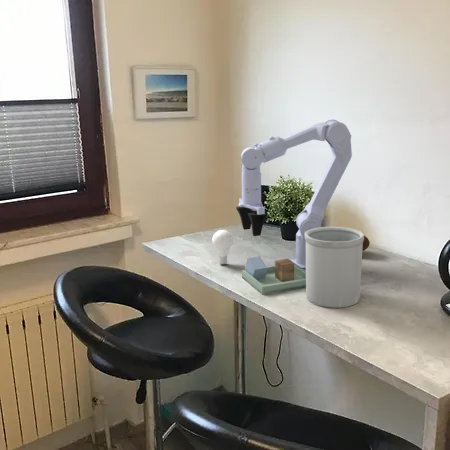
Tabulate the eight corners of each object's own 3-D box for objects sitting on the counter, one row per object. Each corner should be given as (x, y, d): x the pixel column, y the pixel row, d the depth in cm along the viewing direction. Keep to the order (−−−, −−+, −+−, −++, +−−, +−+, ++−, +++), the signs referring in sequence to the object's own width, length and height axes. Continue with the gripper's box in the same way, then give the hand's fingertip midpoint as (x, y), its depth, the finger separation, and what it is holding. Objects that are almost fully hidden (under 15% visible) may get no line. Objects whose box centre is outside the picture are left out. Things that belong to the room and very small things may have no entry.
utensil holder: (293, 292, 152) (294, 229, 147) (341, 283, 157) (343, 223, 152) (321, 313, 138) (323, 244, 134) (372, 303, 143) (376, 237, 139)
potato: (351, 248, 187) (352, 225, 185) (373, 256, 179) (374, 232, 177) (334, 252, 183) (335, 229, 181) (357, 260, 175) (358, 236, 173)
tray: (291, 269, 168) (291, 262, 168) (314, 285, 156) (315, 278, 155) (242, 277, 163) (242, 270, 162) (262, 294, 150) (262, 286, 150)
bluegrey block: (252, 280, 159) (245, 268, 162) (264, 278, 160) (257, 266, 164) (254, 269, 156) (247, 258, 160) (267, 267, 158) (259, 256, 162)
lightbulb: (231, 268, 171) (230, 233, 168) (210, 267, 172) (209, 232, 169) (235, 261, 177) (234, 227, 174) (215, 260, 178) (214, 227, 175)
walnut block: (275, 277, 161) (275, 260, 160) (287, 275, 162) (287, 258, 161) (281, 281, 157) (281, 264, 156) (294, 279, 159) (294, 262, 157)
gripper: (229, 185, 172) (230, 227, 176) (248, 194, 159) (248, 240, 163) (251, 183, 174) (251, 225, 178) (271, 191, 161) (271, 237, 165)
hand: (251, 232), depth 171 cm, fingers open, 7 cm apart
